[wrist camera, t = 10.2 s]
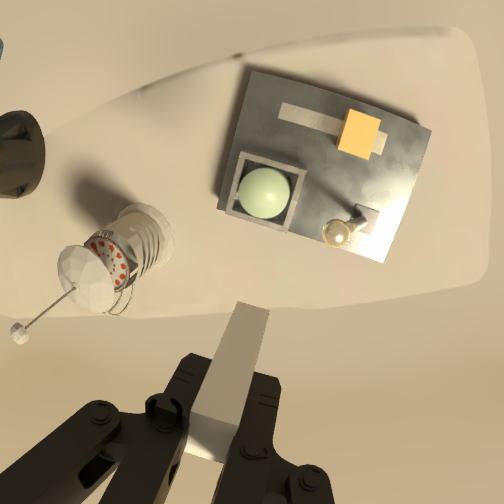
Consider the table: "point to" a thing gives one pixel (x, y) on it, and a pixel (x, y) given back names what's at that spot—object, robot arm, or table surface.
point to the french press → (111, 261)
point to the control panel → (323, 162)
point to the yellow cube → (357, 133)
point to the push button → (264, 191)
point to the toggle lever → (341, 230)
